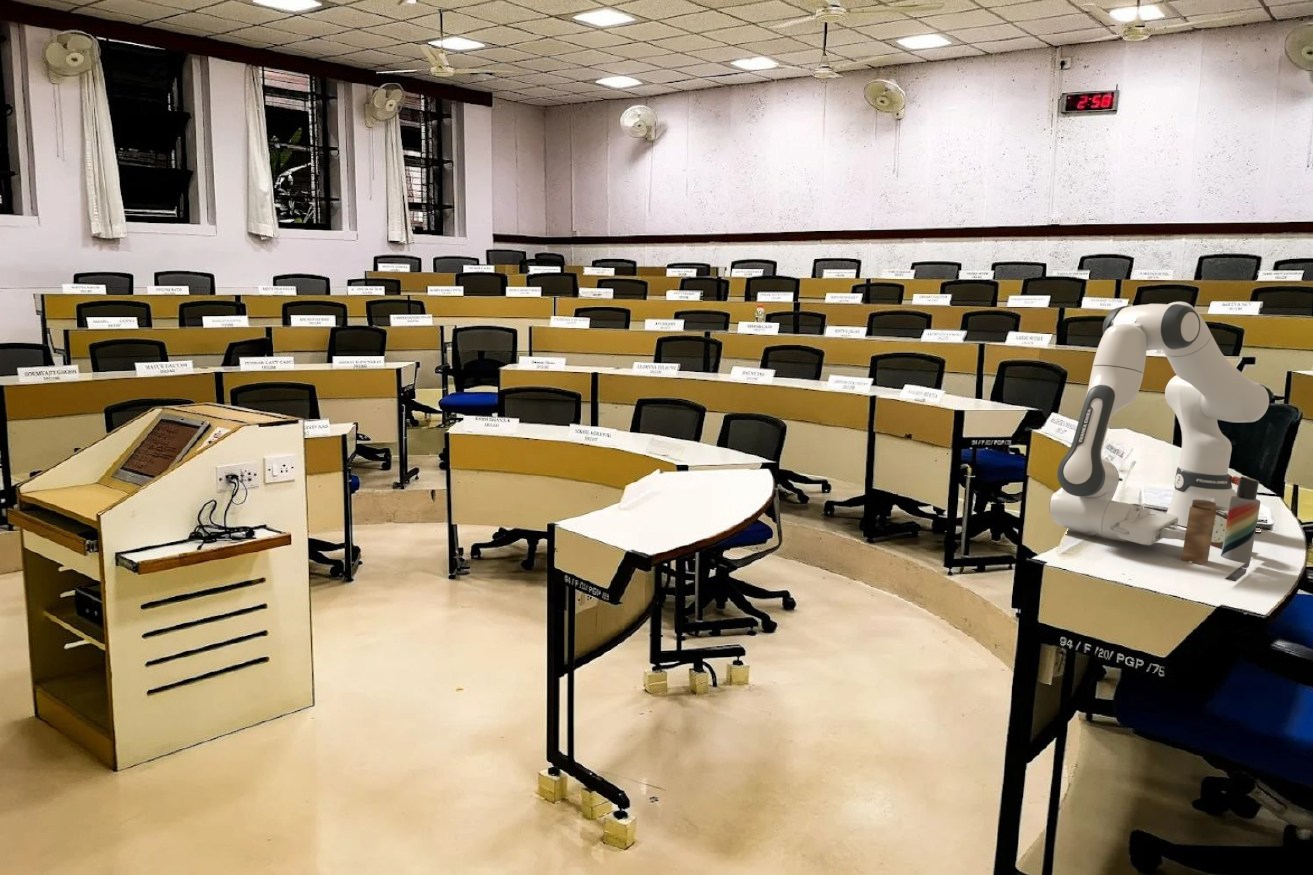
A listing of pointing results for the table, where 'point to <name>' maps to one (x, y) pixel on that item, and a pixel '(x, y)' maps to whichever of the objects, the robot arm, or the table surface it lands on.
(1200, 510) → the brown post
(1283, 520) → the table surface
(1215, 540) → the food container
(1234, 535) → the lotion bottle
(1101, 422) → the robot arm
